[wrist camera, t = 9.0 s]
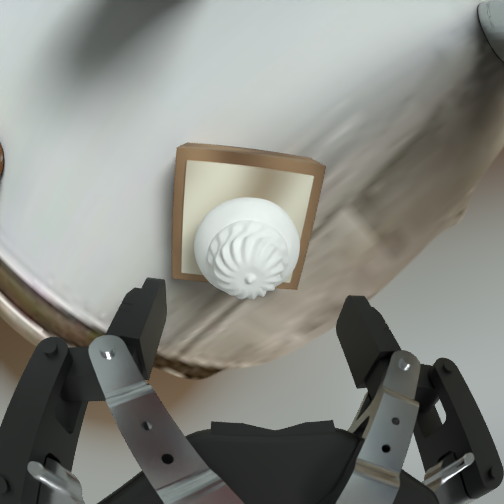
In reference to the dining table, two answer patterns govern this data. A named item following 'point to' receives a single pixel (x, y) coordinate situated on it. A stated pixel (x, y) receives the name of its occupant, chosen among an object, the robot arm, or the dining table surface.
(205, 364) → the dining table surface
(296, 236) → the white fluted ornament
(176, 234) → the base
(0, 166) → the sauce bottle
